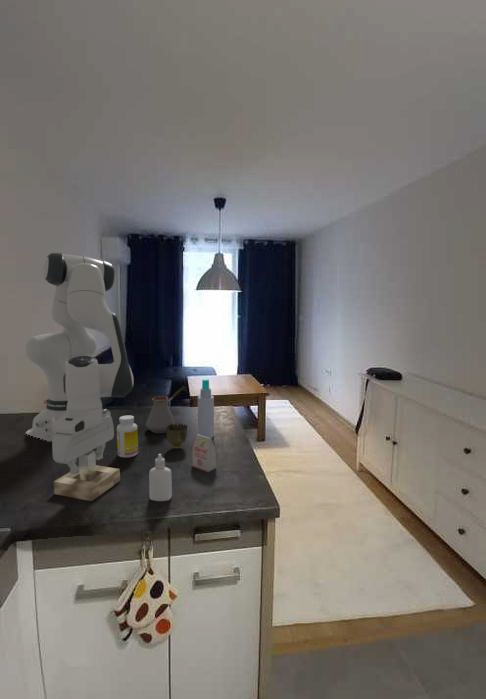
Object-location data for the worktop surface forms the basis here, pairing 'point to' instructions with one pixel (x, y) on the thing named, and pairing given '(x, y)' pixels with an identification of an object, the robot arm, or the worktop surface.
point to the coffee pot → (161, 414)
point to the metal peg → (87, 466)
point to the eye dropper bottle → (160, 481)
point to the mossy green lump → (176, 435)
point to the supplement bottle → (127, 437)
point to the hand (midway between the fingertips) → (87, 466)
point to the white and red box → (203, 453)
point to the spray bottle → (206, 411)
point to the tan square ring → (87, 484)
